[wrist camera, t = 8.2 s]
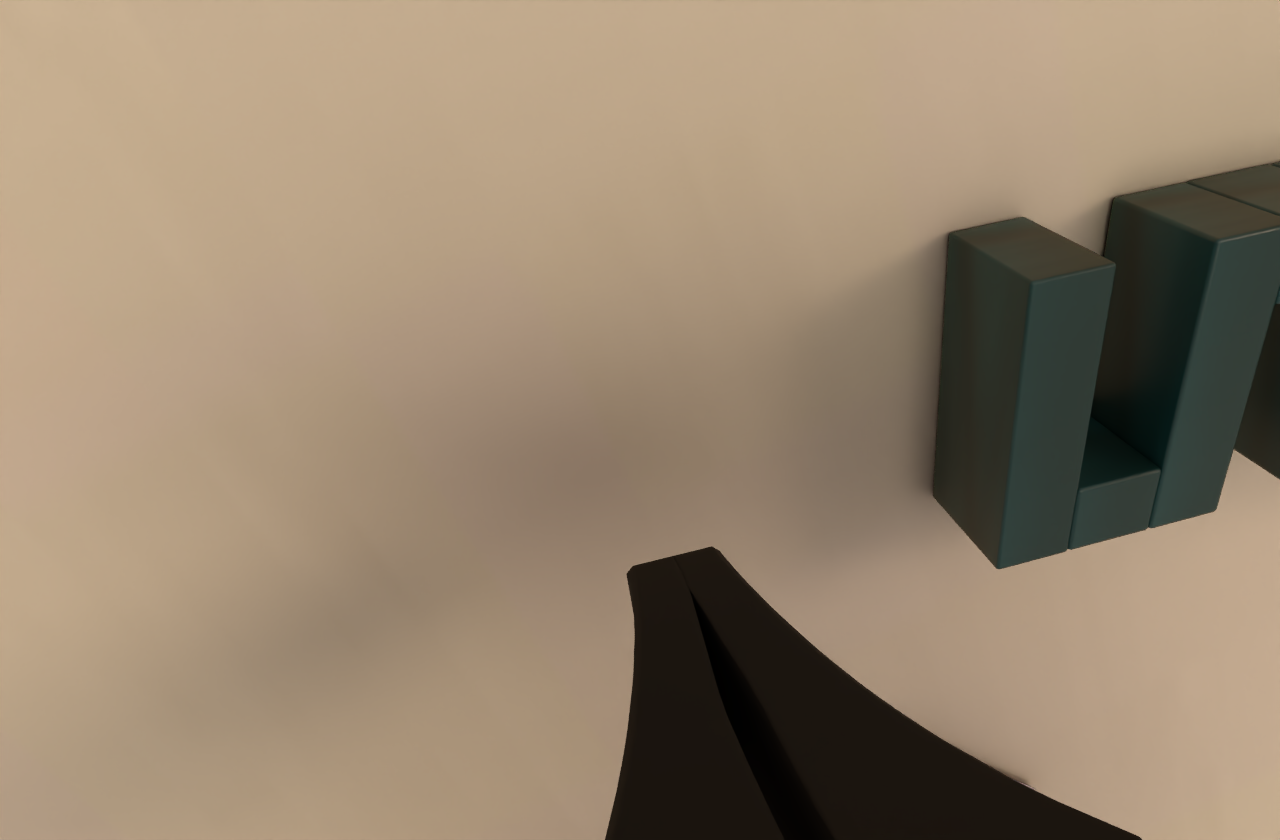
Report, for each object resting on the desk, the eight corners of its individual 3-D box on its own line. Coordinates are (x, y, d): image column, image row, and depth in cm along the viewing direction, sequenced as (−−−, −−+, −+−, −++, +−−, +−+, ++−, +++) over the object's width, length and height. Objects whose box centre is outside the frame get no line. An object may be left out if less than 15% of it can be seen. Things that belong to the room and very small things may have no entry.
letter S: (931, 496, 19) (997, 571, 17) (947, 231, 15) (1031, 282, 13) (1259, 413, 20) (1359, 474, 17) (1337, 147, 16) (1472, 182, 14)
